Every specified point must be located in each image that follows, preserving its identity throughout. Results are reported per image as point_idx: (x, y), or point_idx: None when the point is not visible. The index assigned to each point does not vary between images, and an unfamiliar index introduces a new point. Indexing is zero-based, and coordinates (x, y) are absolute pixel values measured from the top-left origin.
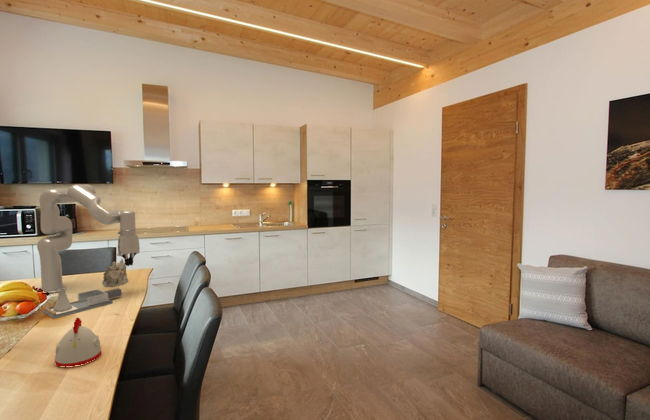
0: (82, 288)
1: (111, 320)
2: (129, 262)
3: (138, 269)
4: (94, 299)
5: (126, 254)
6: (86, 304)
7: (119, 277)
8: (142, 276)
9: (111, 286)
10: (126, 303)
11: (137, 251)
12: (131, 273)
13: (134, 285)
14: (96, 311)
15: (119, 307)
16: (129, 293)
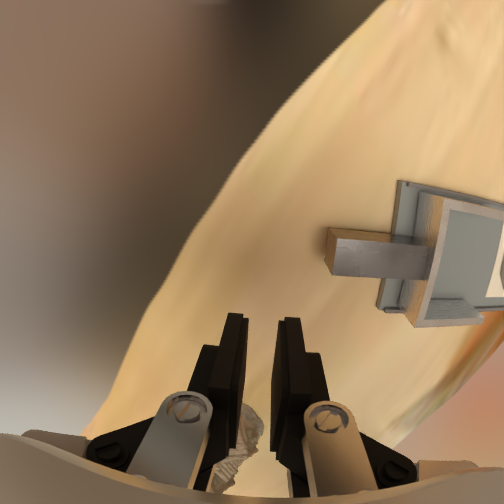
0: None
1: (469, 18)
2: (243, 381)
3: None
4: (484, 206)
5: (352, 491)
6: (469, 248)
7: None
8: (104, 414)
9: (249, 410)
10: (361, 113)
11: (24, 446)
12: None
13: (168, 358)
14: (476, 145)
15: (408, 94)
16: (253, 263)
